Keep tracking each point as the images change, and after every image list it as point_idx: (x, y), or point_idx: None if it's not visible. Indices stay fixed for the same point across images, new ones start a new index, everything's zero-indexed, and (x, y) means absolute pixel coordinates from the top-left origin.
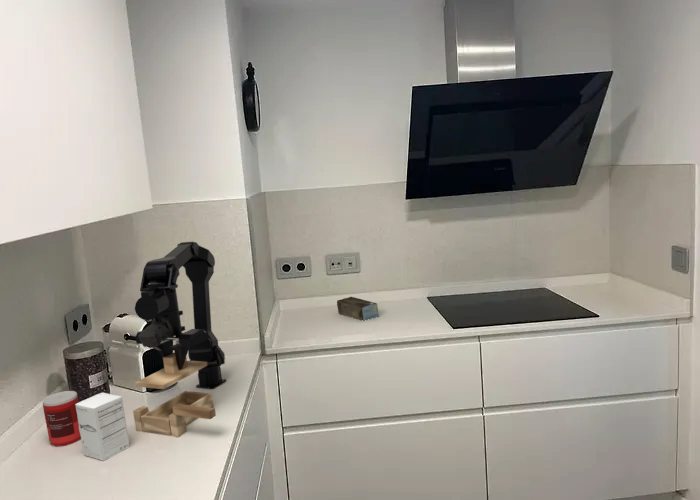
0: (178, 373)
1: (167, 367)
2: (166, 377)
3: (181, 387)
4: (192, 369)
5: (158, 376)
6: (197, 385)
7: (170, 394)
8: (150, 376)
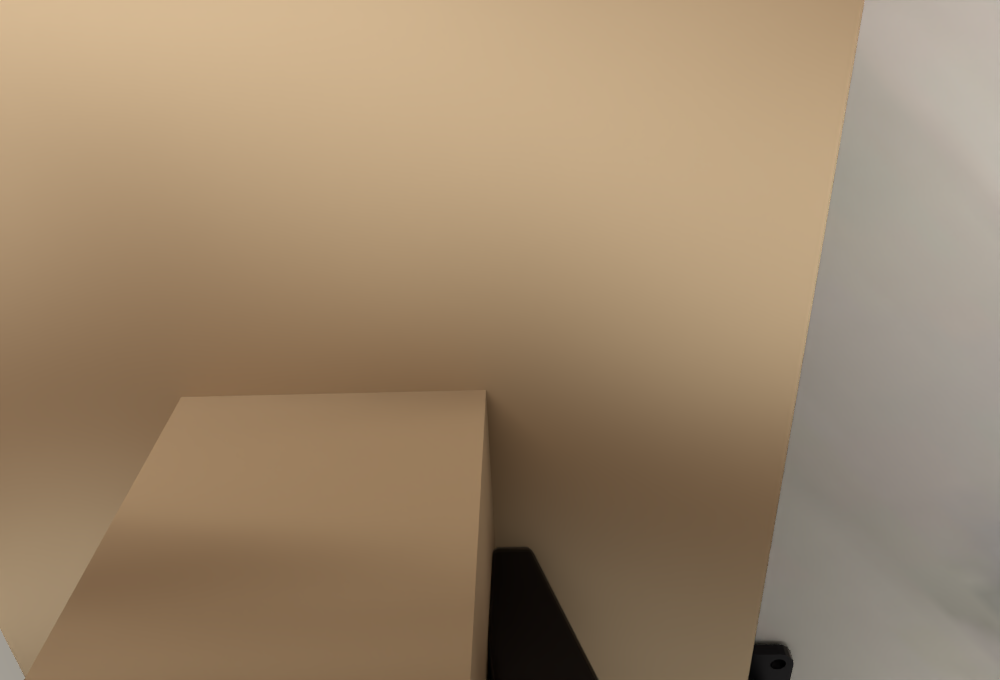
0: (77, 422)
1: (347, 495)
2: (115, 136)
3: (943, 626)
4: (5, 631)
5: (460, 150)
6: (783, 664)
7: (967, 510)
8: (741, 92)
